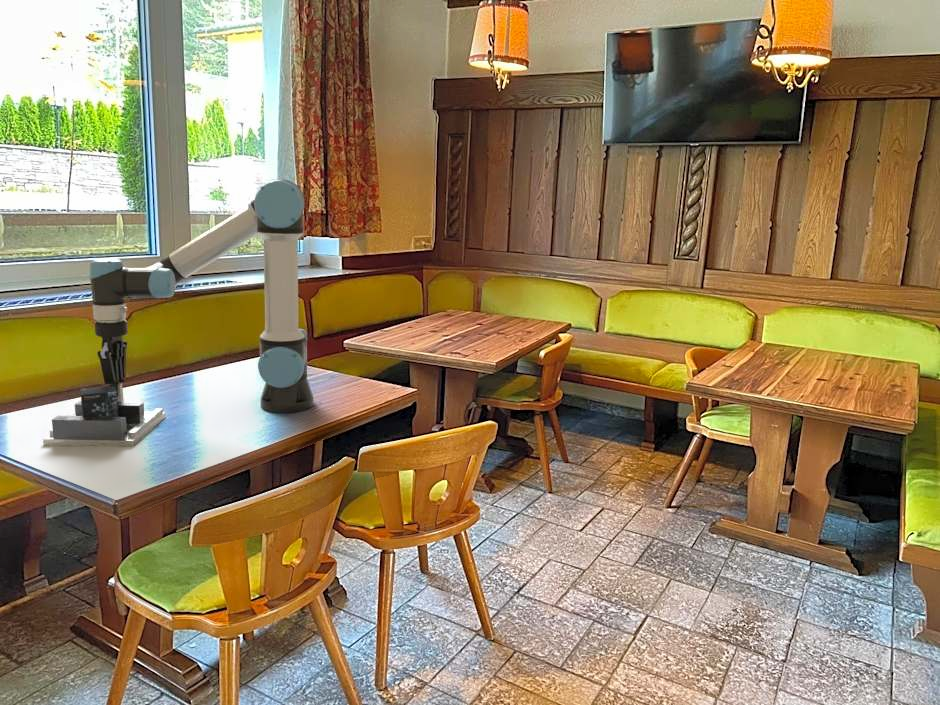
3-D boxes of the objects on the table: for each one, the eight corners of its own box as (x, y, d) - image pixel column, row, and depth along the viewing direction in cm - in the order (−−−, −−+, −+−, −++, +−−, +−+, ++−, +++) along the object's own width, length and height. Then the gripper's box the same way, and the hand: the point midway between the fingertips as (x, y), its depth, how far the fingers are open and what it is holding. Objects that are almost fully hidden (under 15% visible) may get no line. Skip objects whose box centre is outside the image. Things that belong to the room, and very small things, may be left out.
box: (84, 435, 172) (81, 394, 170) (83, 428, 177) (79, 388, 174) (120, 431, 176) (117, 390, 174) (117, 424, 181) (114, 384, 179)
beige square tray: (165, 417, 192) (164, 394, 191) (133, 446, 171) (131, 421, 169) (86, 415, 191) (84, 392, 189) (43, 445, 169) (40, 419, 168)
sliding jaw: (144, 420, 184) (143, 402, 183) (140, 424, 181) (139, 405, 180) (81, 419, 183) (80, 400, 182) (76, 422, 180) (74, 404, 179)
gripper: (115, 325, 174) (122, 415, 180) (135, 315, 187) (141, 400, 192) (83, 324, 173) (91, 415, 179) (106, 314, 186) (113, 399, 192)
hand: (117, 407), depth 186 cm, fingers closed
